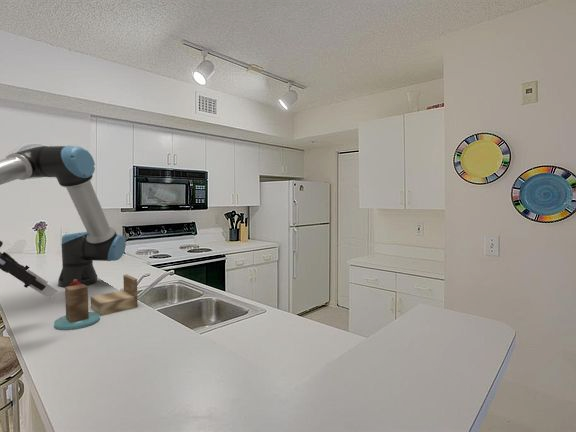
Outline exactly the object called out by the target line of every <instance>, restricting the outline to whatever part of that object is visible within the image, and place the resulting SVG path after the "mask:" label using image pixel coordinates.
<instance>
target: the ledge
mask: <svg viewBox="0 0 576 432" xmlns="http://www.w3.org/2000/svg"><path fill="white" fill-rule="evenodd" d="M122 277H123V290H120V291H113V292H108V293H103V294H102V293H101V294H98V295H96V294H95V295H91V296H90V309H92V310H93V312H96V313H98V314H99V315H100V316H104V315H108V314H113V313H118V312H121V311H125V310H130V309H135V308H137V307H138V305H139V304H138V279H137V278H135V277H134V276H131V275H129V274H123V276H122Z"/></svg>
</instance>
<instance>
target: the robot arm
mask: <svg viewBox="0 0 576 432" xmlns="http://www.w3.org/2000/svg"><path fill="white" fill-rule="evenodd" d="M95 165H96V163H95V160H94V157H93V156H92V154H91V153H90V152H89V151H88V150H87V149H86V148H84V147H81V146H77V145H75V146H74V145H65V146H64V145H62V146H61V145H60V146H59V145H57V146H56V145H55V146H53V145H50V146H48V145H47V146H45V145H43V146H42V145H41V146H36V147H32V148H27V149H23V150H21V151H17V152H13V153H10V154H8V155H6V157H5V158H2V159H0V185H4V184H7V183H10V182H13V181H15V180H21V181H23V180H24V181H25V180H28V179H31V178H55V179H56V180H57V182H58V184H59V185H60V186H61V187H63V188H66V190H67V193H68V194H69V196H70V199H71V201H72V202H73V203H72V204H73V205H74V207H75V209H76V211H77V214H78V216H79V218H80V220H81V222H82V224H83V226H84V228H85V230H86V231H81V232H75V233H69V234H68V233H67V234H64V235H62V238H61V243H60V245H61V260H62V265H61V266H62V269H61V272H60V275H59V277H58V279H57V280H58V281H57V282H58V283H57V284H58V285H57V286H58V287H61V288H65V287H68V285H69V284H70V283H72V282H73V280H74V279H77V281H78V282H80V283H81V284H84V285H85V286H89V285H93V284H95V283H97V282H98V274H97V271H96V270H95V268H94V263H93V261H96V262H97V261H99V262H100V261H101V262H102V261H103V262H104V261H105V262H112V261H113V262H114V261H116V262H117V261H119V260H120V259H121V258H123V256H124V253H125V252H126V246H127V245H126V238H125V236H124V235H121V234H118V233H117V231H116V229H115V228H114V227H112V226H110V224H109V223H108V220H107V218H106V215H105V213H104V210H103V208H102V206H101V203H100V201H99V199H98V196H97V194H96V191H95V188H94V187H93V185H92V182H91V181H92V179H93V175H94V173H95V170H96V167H95ZM3 244H4V243H3V241H1V240H0V248H1V247H2V246H3ZM0 270H1V271H3V272H4V273H8V274H10V275H11V276H13V277H14V278H16V279H17V280H19V281H20V282H22V283H23V284H24V285H23V287H24V288H29V287H30V288H31V289H33V290H35V291H36V292H37V293H40V294H41V295H43V296H44V297H46V298H48V299H51V298H52V297H53V296H55V295H56V293H58V289H56V288H54V287H53V286H51V285H50V284H48V283H49V281H47V280H45V279H44V278H42V277H41V276H39V275H38V274H36V273H35V272H34V271H31V270H30V266H29V265H27V264H26V265H23V264H20V263H18V261H16V259H15V258H13V257H12V256H11V255H10V254H9V253H7V252H6V251H4V252H1V251H0Z"/></svg>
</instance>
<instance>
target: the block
mask: <svg viewBox="0 0 576 432" xmlns="http://www.w3.org/2000/svg"><path fill="white" fill-rule="evenodd" d="M64 291H65V294H64V296H65V298H64V299H65V316H66V319H67V320H68V321H69V322H70V323H72V322H76V321H81V320H85V319H89V312H90V311H89V287H88V285H84V284H81V285H75V286H68V287H64Z"/></svg>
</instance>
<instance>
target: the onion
mask: <svg viewBox="0 0 576 432" xmlns="http://www.w3.org/2000/svg"><path fill="white" fill-rule="evenodd" d="M75 285H81V283H80V282H78V281H77V279H74V280H73V282H72V283H70V284H69V285H68V286H75Z"/></svg>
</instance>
